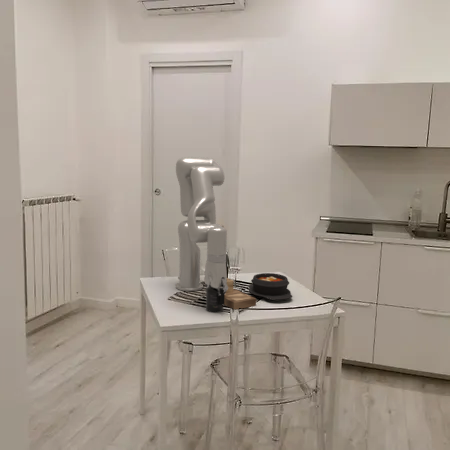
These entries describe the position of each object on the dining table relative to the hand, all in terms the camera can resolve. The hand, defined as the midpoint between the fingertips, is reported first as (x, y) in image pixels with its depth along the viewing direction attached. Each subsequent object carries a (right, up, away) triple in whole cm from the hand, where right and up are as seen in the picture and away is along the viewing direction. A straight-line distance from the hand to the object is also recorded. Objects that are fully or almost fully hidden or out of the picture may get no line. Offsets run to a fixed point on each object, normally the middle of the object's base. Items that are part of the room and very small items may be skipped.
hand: (215, 301), depth 187 cm
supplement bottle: (0, -4, 0) cm, 4 cm away
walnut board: (+7, -2, +11) cm, 13 cm away
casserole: (+24, -1, +22) cm, 33 cm away
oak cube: (+4, +2, +16) cm, 16 cm away
